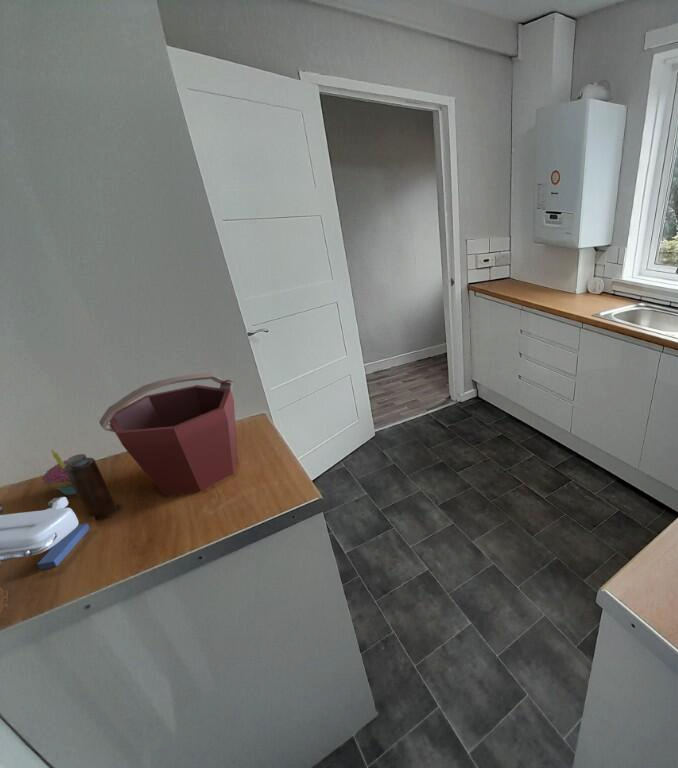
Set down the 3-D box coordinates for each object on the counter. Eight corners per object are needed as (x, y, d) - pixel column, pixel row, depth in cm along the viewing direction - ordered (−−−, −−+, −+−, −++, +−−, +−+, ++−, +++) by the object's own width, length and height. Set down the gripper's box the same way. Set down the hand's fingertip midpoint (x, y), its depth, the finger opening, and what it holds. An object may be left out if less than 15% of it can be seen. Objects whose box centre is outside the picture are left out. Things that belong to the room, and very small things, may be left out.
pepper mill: (90, 522, 85) (61, 466, 79) (88, 512, 87) (60, 457, 82) (118, 511, 88) (92, 457, 82) (115, 502, 90) (90, 449, 85)
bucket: (250, 437, 115) (225, 354, 104) (264, 477, 99) (235, 385, 88) (137, 469, 101) (94, 378, 90) (132, 521, 85) (79, 418, 75)
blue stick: (59, 571, 74) (53, 561, 73) (42, 574, 73) (36, 564, 72) (92, 532, 82) (87, 522, 81) (77, 534, 82) (72, 525, 81)
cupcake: (99, 492, 93) (76, 448, 88) (47, 506, 89) (19, 461, 84) (106, 473, 100) (85, 431, 94) (58, 485, 95) (32, 442, 90)
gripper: (29, 538, 61) (93, 481, 73) (-153, 561, 56) (-52, 496, 69) (47, 569, 63) (106, 509, 75) (-125, 593, 59) (-33, 525, 71)
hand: (30, 503), depth 72 cm, fingers open, 8 cm apart
